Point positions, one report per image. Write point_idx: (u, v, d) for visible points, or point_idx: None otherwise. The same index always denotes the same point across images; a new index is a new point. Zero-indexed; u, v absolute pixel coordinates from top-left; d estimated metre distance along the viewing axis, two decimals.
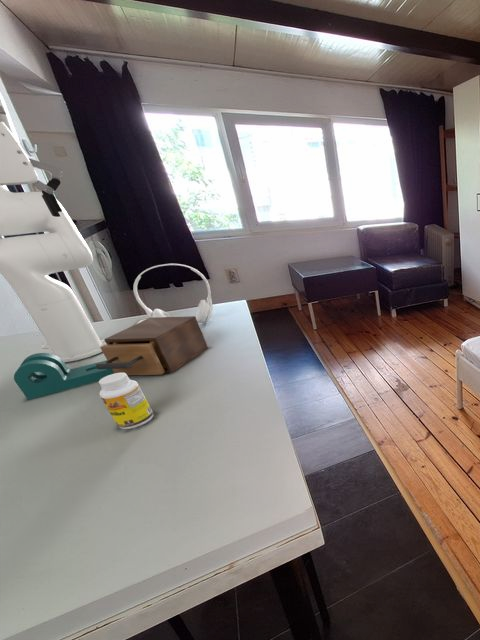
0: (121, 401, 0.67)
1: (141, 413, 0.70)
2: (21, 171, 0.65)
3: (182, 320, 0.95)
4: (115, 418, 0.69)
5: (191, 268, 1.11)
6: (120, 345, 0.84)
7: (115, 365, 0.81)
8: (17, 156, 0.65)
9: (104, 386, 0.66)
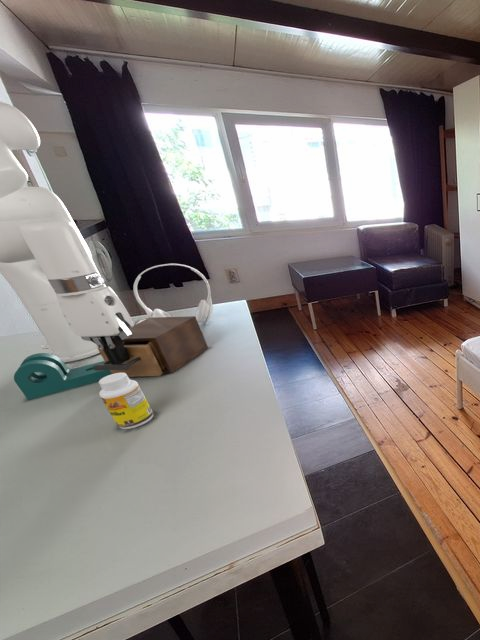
0: (121, 401, 0.67)
1: (141, 413, 0.70)
2: (105, 328, 0.77)
3: (182, 320, 0.95)
4: (115, 418, 0.69)
5: (191, 268, 1.11)
6: None
7: (113, 366, 0.80)
8: (101, 317, 0.76)
9: (104, 386, 0.66)
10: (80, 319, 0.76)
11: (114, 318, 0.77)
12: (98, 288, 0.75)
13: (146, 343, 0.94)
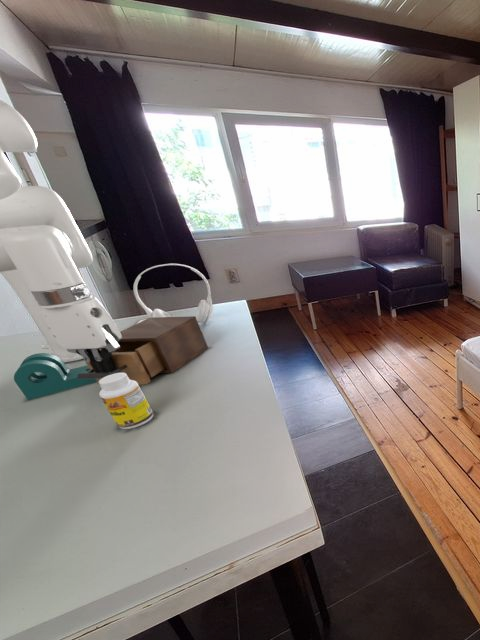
0: (121, 401, 0.67)
1: (141, 413, 0.70)
2: (91, 340, 0.74)
3: (182, 320, 0.95)
4: (115, 418, 0.69)
5: (191, 268, 1.11)
6: None
7: (97, 375, 0.77)
8: (87, 330, 0.73)
9: (104, 386, 0.66)
10: (65, 331, 0.73)
11: (101, 330, 0.74)
12: (84, 300, 0.72)
13: (134, 349, 0.91)
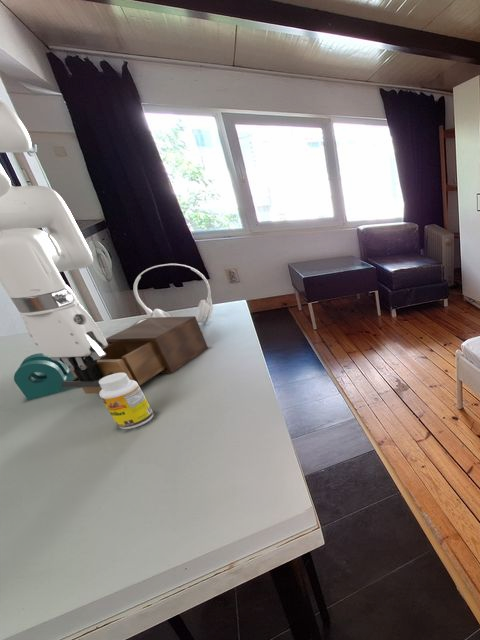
0: (121, 401, 0.67)
1: (141, 413, 0.70)
2: (75, 348, 0.71)
3: (182, 320, 0.95)
4: (115, 418, 0.69)
5: (191, 268, 1.11)
6: None
7: (82, 383, 0.74)
8: (70, 337, 0.70)
9: (104, 386, 0.66)
10: (47, 339, 0.70)
11: (85, 338, 0.71)
12: (67, 306, 0.69)
13: (122, 356, 0.88)
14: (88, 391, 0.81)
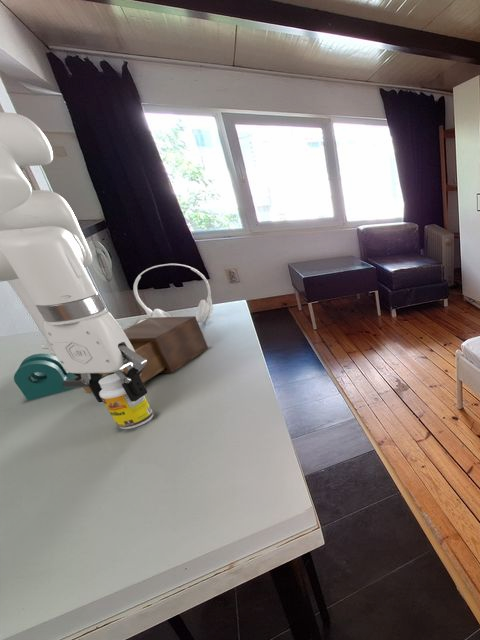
0: (121, 401, 0.67)
1: (141, 413, 0.70)
2: None
3: (182, 320, 0.95)
4: (115, 418, 0.69)
5: (191, 268, 1.11)
6: None
7: (83, 383, 0.74)
8: None
9: (104, 386, 0.66)
10: None
11: None
12: None
13: None
14: (89, 390, 0.81)
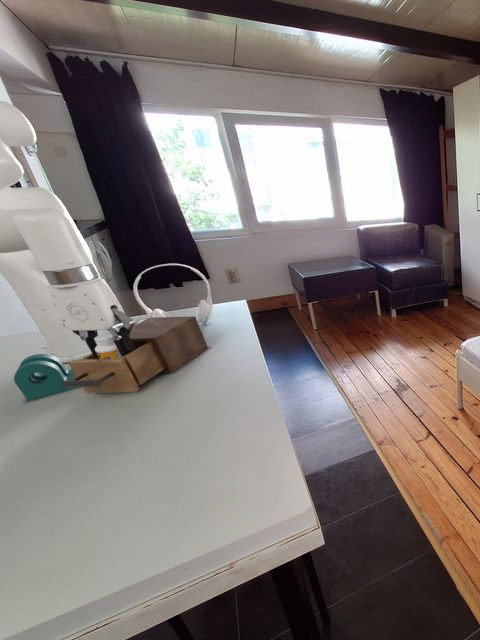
0: (113, 355, 0.80)
1: None
2: None
3: (182, 320, 0.95)
4: None
5: (191, 268, 1.11)
6: (90, 361, 0.78)
7: (83, 383, 0.74)
8: None
9: (99, 342, 0.79)
10: None
11: None
12: None
13: None
14: (89, 390, 0.81)
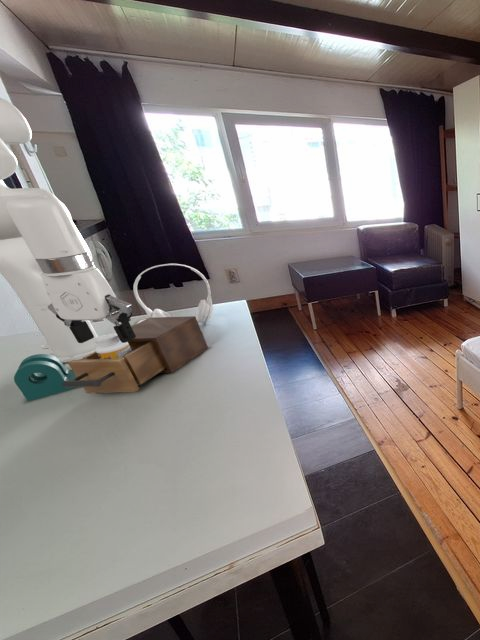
0: (114, 356, 0.80)
1: None
2: None
3: (182, 320, 0.95)
4: None
5: (191, 268, 1.11)
6: (90, 361, 0.78)
7: (83, 383, 0.74)
8: None
9: (99, 343, 0.79)
10: None
11: None
12: None
13: None
14: (89, 390, 0.81)
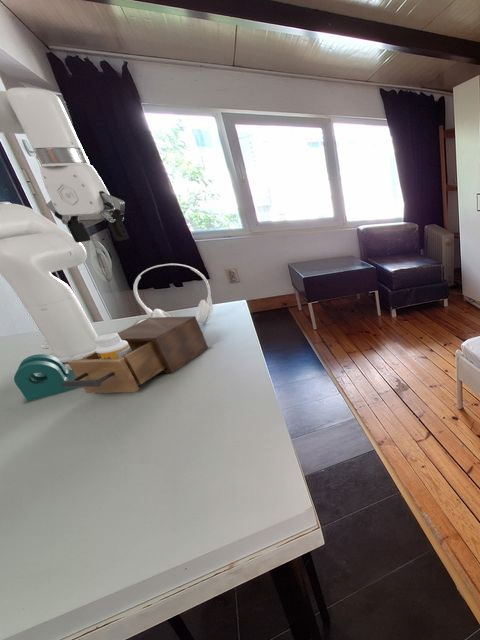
0: (114, 356, 0.80)
1: None
2: None
3: (182, 320, 0.95)
4: None
5: (191, 268, 1.11)
6: (90, 361, 0.78)
7: (83, 383, 0.74)
8: None
9: (99, 343, 0.79)
10: None
11: None
12: None
13: None
14: (89, 390, 0.81)
